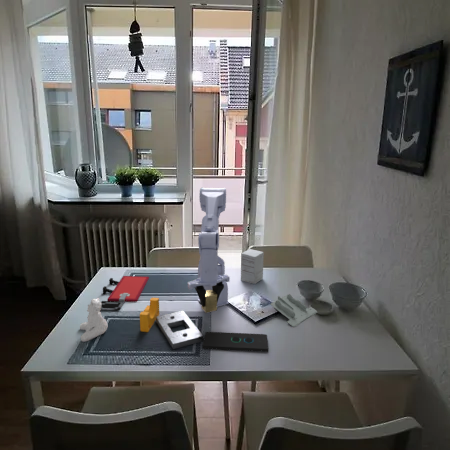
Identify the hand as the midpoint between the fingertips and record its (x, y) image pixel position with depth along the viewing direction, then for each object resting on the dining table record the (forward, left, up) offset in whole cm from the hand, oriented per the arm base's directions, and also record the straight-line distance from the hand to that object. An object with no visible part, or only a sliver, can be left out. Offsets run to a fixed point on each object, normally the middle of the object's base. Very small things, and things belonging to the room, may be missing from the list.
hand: (208, 304), depth 126 cm
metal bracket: (-30, +7, -8) cm, 32 cm away
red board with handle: (+22, -36, -8) cm, 43 cm away
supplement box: (-32, -25, -7) cm, 41 cm away
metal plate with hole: (+11, 0, -7) cm, 13 cm away
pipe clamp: (+19, -10, -8) cm, 22 cm away
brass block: (0, 0, -2) cm, 2 cm away
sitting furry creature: (+36, -11, -8) cm, 38 cm away
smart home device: (-3, +14, -8) cm, 17 cm away
